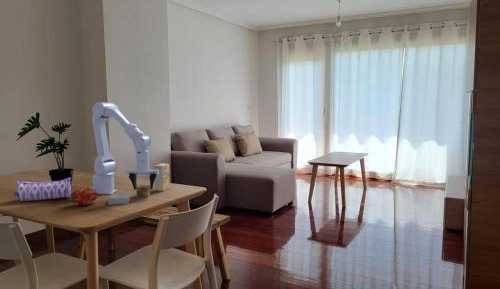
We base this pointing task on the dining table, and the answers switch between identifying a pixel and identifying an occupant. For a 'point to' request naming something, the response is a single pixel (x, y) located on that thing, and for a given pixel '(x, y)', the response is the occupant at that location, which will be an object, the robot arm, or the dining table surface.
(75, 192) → the dragon fruit
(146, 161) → the robot arm
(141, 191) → the walnut cube
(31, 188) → the pencil case
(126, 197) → the grey flat square block
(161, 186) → the supplement box
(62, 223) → the dining table surface
